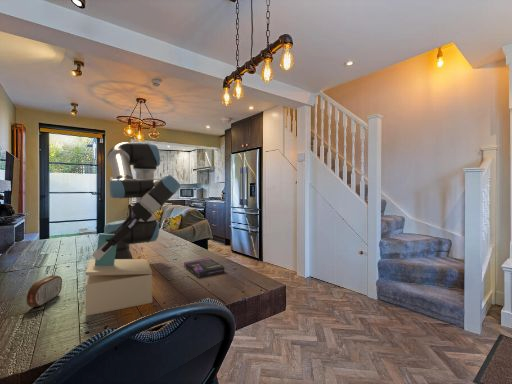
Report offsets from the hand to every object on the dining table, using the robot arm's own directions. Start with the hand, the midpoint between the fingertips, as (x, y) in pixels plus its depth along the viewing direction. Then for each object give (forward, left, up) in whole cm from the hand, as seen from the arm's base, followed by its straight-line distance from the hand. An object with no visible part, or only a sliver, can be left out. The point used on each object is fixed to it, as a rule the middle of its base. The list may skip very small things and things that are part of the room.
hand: (95, 256), depth 94 cm
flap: (+4, +6, -5) cm, 9 cm away
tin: (-18, -7, -17) cm, 26 cm away
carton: (+4, +6, -17) cm, 18 cm away
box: (+10, +47, -17) cm, 52 cm away
